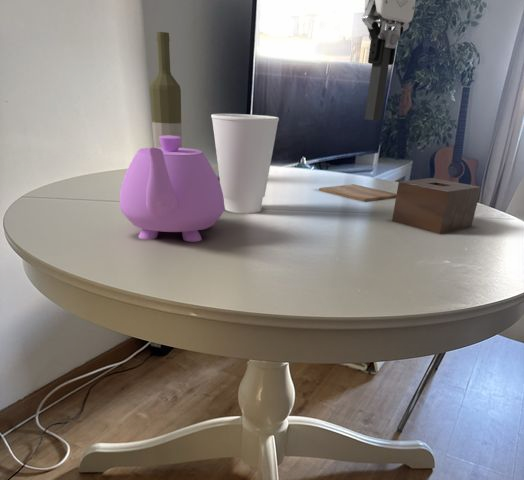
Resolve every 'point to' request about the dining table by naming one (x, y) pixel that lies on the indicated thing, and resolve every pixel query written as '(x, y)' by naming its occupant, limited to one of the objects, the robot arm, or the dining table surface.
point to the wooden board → (358, 192)
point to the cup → (244, 158)
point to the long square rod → (380, 78)
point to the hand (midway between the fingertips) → (380, 63)
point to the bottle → (165, 96)
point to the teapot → (171, 191)
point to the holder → (435, 204)
